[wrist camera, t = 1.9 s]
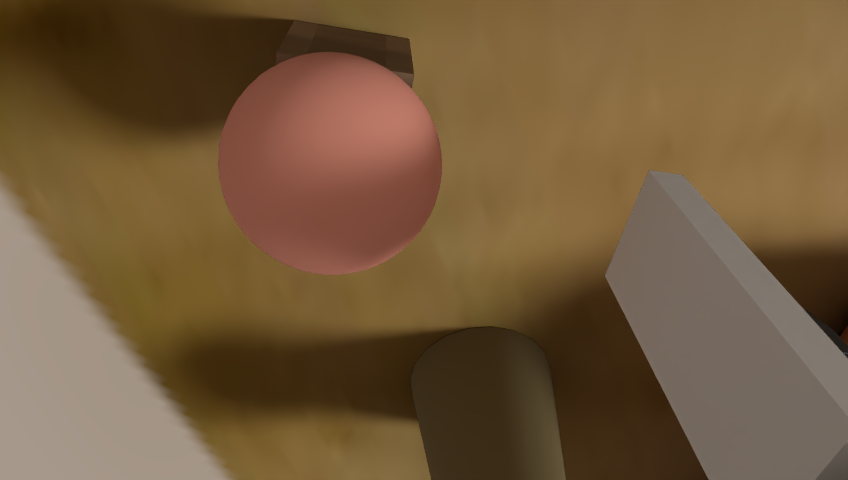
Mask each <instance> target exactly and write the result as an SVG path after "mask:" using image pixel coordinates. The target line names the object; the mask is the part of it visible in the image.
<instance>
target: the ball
mask: <svg viewBox="0 0 848 480" xmlns="http://www.w3.org/2000/svg"><path fill="white" fill-rule="evenodd" d="M218 168H219V178H220V183H221V187H222V191H223V195H224V198H225V201H226V203H227V206H228V208H229V210H230V212H231V214H232V216H233V218H234V219H235V221H236V222H237V224H238V225H239V227H240V228H241V229H242V231H243V232H244V234H245V235H246V236H247V237H248V238H249V239H250V240H251V241H252V242H253V243H254V244H255V245H256V246H257V247H258V248H260V249H261V250H262V251H263V252H265V253H266V254H268V255H269V256H271V257H272V258H274V259H276V260H278V261H279V262H281V263H283V264H285V265H288V266H290V267H293V268H295V269H298V270H302V271H305V272H310V273H316V274H326V275H337V274H348V273H354V272H358V271H362V270H365V269H369V268H371V267H374V266H376V265H379V264H381V263H383V262H385V261H386V260H388V259H390V258H391V257H393V256H394V255H396V254H397V253H398V252H400V251H401V250H402V249H404V248H405V247H406V246H407V245H408V244H409V243H410V242H411V241H412V240H413V239H414V238H415V237H416V235H417V234H418V233H419V232H420V230H421V229H422V227H423V226H424V224H425V222H426V221H427V219H428V218H429V216H430V214H431V212H432V210H433V207H434V205H435V202H436V198H437V195H438V191H439V188H440V182H441V174H442V161H441V149H440V143H439V139H438V135H437V132H436V129H435V126H434V123H433V121H432V119H431V117H430V115H429V112H428V110H427V109H426V107H425V106H424V104H423V103H422V101H421V100H420V98H419V97H418V96H417V95H416V94H415V92H414V91H413V90H412V89H411V88H410V87H409V86H408V85H407V84H406V83H405V82H404V81H403V80H402V79H401V78H399V77H398V76H397V75H396V74H394V73H393V72H391V71H390V70H388V69H387V68H385V67H383V66H381V65H379V64H377V63H376V62H374V61H371V60H368V59H365V58H363V57H360V56H356V55H351V54H347V53H338V52H316V53H310V54H305V55H300V56H297V57H294V58H291V59H288V60H286V61H283V62H281V63H279V64H277V65H275V66H273V67H271V68H270V69H268V70H267V71H265V72H264V73H262V74H261V75H259V76H258V77H257V78H256V79H255V80H254V81H253V82H252V83H251V84H250V85H249V86H248V87H247V88H246V89H245V90H244V92H243V93H242V94H241V95H240V97H239V98H238V99H237V100H236V102H235V104H234V106H233V107H232V109H231V111H230V113H229V115H228V118H227V120H226V123H225V125H224V128H223V131H222V135H221V139H220V144H219V158H218Z"/></svg>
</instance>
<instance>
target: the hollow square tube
mask: <svg viewBox="0 0 848 480" xmlns="http://www.w3.org/2000/svg"><path fill="white" fill-rule="evenodd" d="M316 52H338V53H347V54H351V55H356V56H360V57H363V58H365V59H368V60H371V61H374V62H376V63H377V64H379V65H381V66H383V67H385V68H387V69H388V70H390V71H391V72H393V73H394V74H396V75H397V76H398V77H399V78H401V79H402V80H403V81H404V82H405V83H406V84H407V85H408V86H409V87H410V88H411V89H412V83H413V77H414V71H413V64H412V56H411V49H410V41H409V39H406V38H400V37H393V36H387V35H381V34H375V33H369V32H363V31H357V30H351V29H344V28H338V27H332V26H326V25H320V24H314V23H308V22H302V21H295V20H294V22H293V24H292V25H291V27H290V29H289V31H288V33H287V34H286V36H285V38H284V40H283V42H282V43H281V45H280V47H279V49H278V51H277V52H276V65H277V64H279V63H281V62H283V61H286V60H288V59H291V58H294V57H297V56H300V55H305V54H310V53H316Z"/></svg>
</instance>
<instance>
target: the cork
mask: <svg viewBox="0 0 848 480" xmlns="http://www.w3.org/2000/svg"><path fill="white" fill-rule="evenodd" d="M411 388H412V396H413V400H414V405H415V409H416V414H417V418H418V422H419V427H420V431H421V436H422V440H423V444H424V449H425V453H426V458H427V462H428V467H429V471H430V475H431V480H566V477H565V470H564V463H563V456H562V449H561V441H560V434H559V427H558V420H557V413H556V406H555V399H554V392H553V384H552V377H551V370H550V365H549V363H548V360H547V358H546V355H545V353H544V351H543V350H542V349H541V348H540V347H539V346H538V345H537V344H536V343H535V342H534V341H533V340H532V339H531V338H529V337H526V336H524V335H522V334H520V333H518V332H516V331H514V330H509V329H503V328H497V327H481V328H469V329H465V330H462V331H459V332H456V333H453V334H450V335H447V336H445V337H444V338H442V339H441V340H439V341H438V342H436V343H435V344H433V345H431V346H430V347H428V348H427V350H426V351H425V352H424V353H423V354H422V356H421V357H420V358H419V359H418V361H417V362H416V363H415V366H414V370H413V373H412V376H411Z"/></svg>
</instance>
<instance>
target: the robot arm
mask: <svg viewBox="0 0 848 480" xmlns="http://www.w3.org/2000/svg"><path fill="white" fill-rule="evenodd" d="M605 277H606V279H607V281H608V283H609V285H610V287H611V289H612V291H613V293H614V295H615V297H616V299H617V301H618V303H619V305H620V307H621V309H622V311H623V313H624V315H625V317H626V319H627V320H628V322H629V324H630V326H631V328H632V330H633V332H634V334H635V336H636V338H637V340H638V342H639V344H640V346H641V348H642V350H643V352H644V354H645V356H646V358H647V360H648V362H649V364H650V366H651V368H652V370H653V372H654V374H655V376H656V377H657V379H658V381H659V383H660V385H661V387H662V389H663V391H664V393H665V395H666V397H667V399H668V401H669V403H670V405H671V407H672V409H673V411H674V413H675V415H676V417H677V419H678V421H679V423H680V425H681V427H682V429H683V431H684V433H685V435H686V436H687V438H688V440H689V442H690V444H691V446H692V448H693V450H694V452H695V454H696V456H697V458H698V460H699V462H700V464H701V466H702V468H703V470H704V472H705V474H706V476H707V478H708V480H848V345H847V344H846V343H845V342H844V341H843V340H842V339H841V338H840V337H839V335H838V334H837V333H836V332H835V331H834V330H833V329H831V328H830V327H829V326H827V325H826V324H824V323H823V322H822V321H820V320H819V319H818V318H816V317H815V316H813V315H812V314H811V313H809V312H808V311H807V310H805V309H803V308H802V307H801V306H800V305H799V304H798V303H797V301H796V300H795V299H794V298H793V297H792V296H791V295H790V294H789V293H788V291H787V290H786V289H785V288H784V287H783V286H782V285H781V284H780V283H779V281H778V280H777V279H776V278H775V277H774V276H773V275H772V274H771V272H770V271H769V270H768V269H767V268H766V267H765V266H764V265H763V264H762V262H761V261H760V260H759V259H758V258H757V257H756V256H755V255H754V254H753V252H752V251H751V250H750V249H749V248H748V247H747V246H746V245H745V244H744V242H743V241H742V240H741V239H740V238H739V237H738V236H737V235H736V234H735V232H734V231H733V230H732V229H731V228H730V227H729V226H728V225H727V224H726V222H725V221H724V220H723V219H722V218H721V217H720V216H719V215H718V214H717V212H716V211H715V210H714V209H713V208H712V207H711V206H710V205H709V203H708V202H707V201H706V200H705V199H704V198H703V197H702V196H701V195H700V193H699V192H698V191H697V190H696V189H695V188H694V187H693V186H692V185H691V183H690V182H689V181H688V180H687V179H686V178H685V177H684V176H683V175H680V174H672V173H665V172H658V171H651V170H649V171H648V173H647V176H646V178H645V181H644V183H643V185H642V188H641V190H640V193H639V195H638V197H637V200H636V202H635V205H634V207H633V209H632V212H631V214H630V217H629V219H628V221H627V224H626V226H625V229H624V231H623V233H622V236H621V238H620V241H619V243H618V245H617V248H616V250H615V253H614V255H613V257H612V260H611V262H610V265H609V267H608V270H607V272H606V274H605Z"/></svg>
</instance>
